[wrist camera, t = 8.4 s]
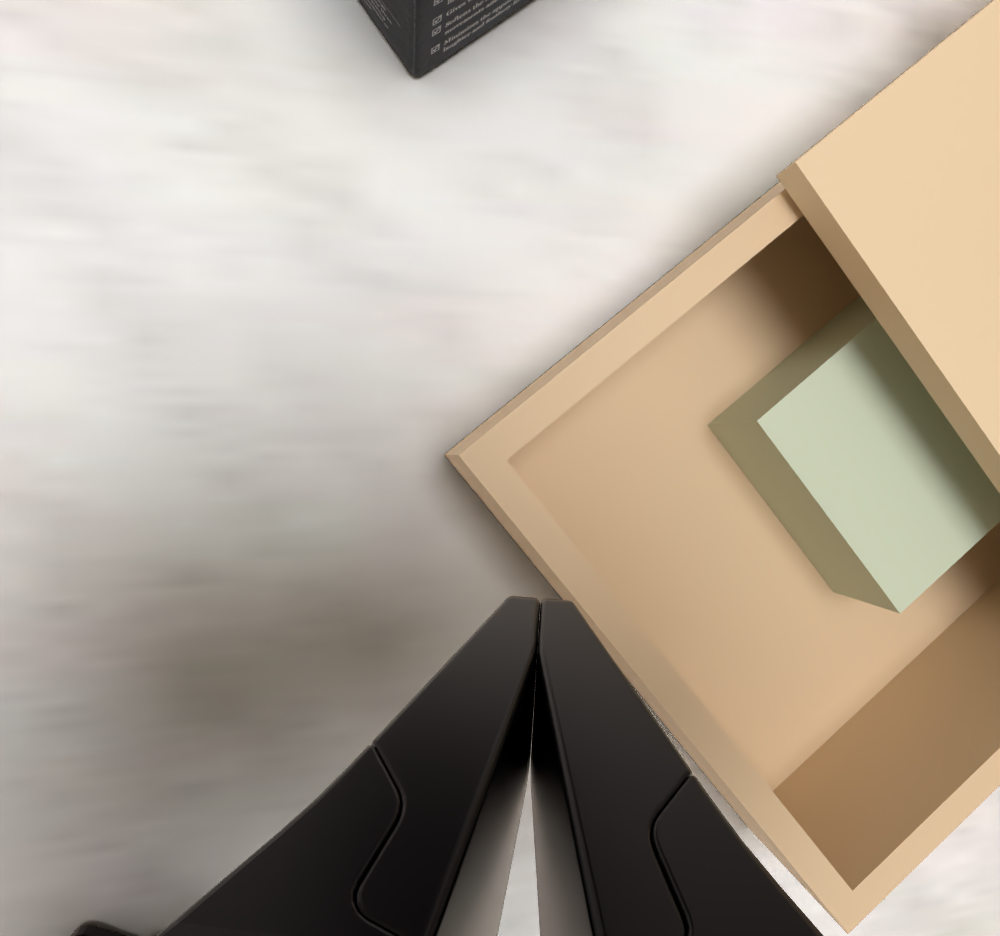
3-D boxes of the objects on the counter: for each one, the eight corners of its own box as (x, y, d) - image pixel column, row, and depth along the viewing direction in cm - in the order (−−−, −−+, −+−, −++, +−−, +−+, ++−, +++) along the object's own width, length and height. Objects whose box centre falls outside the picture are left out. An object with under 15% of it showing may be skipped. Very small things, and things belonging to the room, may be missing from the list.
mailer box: (749, 828, 23) (847, 934, 18) (444, 454, 21) (458, 455, 16) (1153, 448, 25) (1343, 447, 20) (907, 77, 23) (1048, -27, 18)
